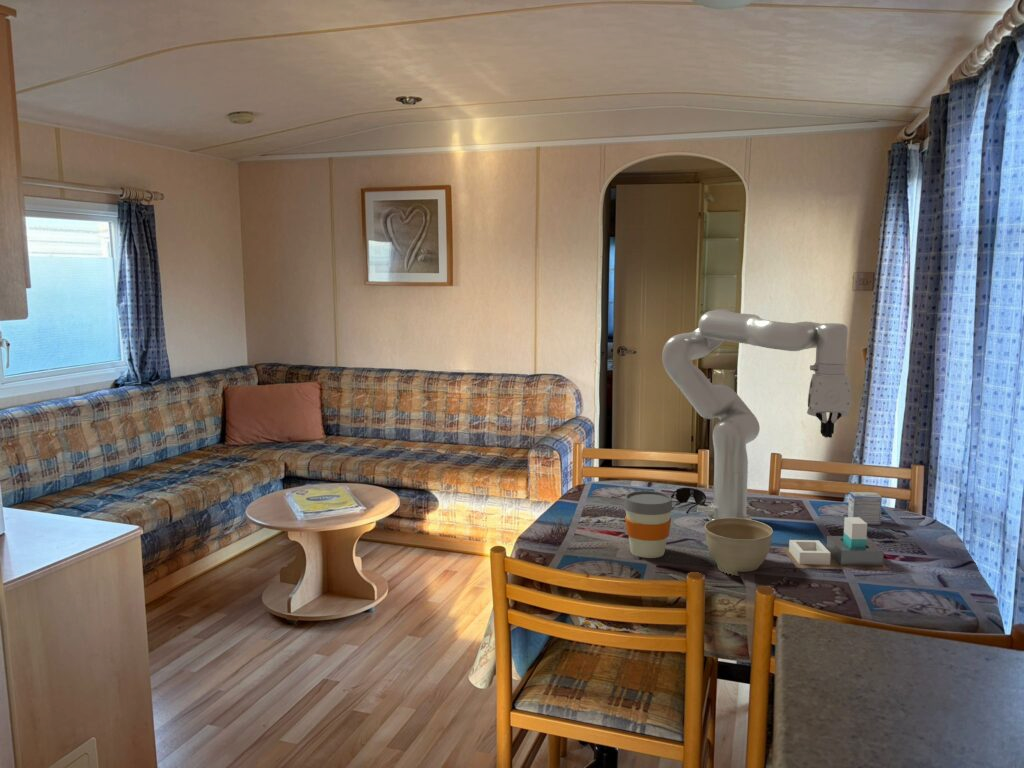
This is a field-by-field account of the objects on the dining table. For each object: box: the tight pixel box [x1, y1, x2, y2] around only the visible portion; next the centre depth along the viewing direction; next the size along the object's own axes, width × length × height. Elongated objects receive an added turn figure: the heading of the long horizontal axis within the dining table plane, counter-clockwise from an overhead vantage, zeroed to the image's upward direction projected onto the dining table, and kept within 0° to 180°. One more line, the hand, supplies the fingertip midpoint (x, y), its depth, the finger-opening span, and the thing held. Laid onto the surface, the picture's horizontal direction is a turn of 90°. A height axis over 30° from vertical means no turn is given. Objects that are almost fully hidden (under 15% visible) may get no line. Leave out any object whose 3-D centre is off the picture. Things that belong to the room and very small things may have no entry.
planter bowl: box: [704, 518, 774, 577], centre depth 184 cm, size 16×16×11 cm
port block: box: [825, 535, 885, 567], centre depth 187 cm, size 10×10×4 cm
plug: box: [843, 516, 868, 548], centre depth 187 cm, size 4×5×10 cm
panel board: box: [781, 546, 891, 571], centre depth 188 cm, size 22×14×2 cm, turn 85°
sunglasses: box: [670, 487, 707, 514], centre depth 235 cm, size 10×12×5 cm
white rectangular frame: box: [788, 539, 831, 565], centre depth 188 cm, size 7×9×3 cm
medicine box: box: [847, 491, 883, 525], centre depth 218 cm, size 8×4×9 cm, turn 84°
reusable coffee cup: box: [623, 490, 673, 559], centre depth 196 cm, size 13×13×15 cm
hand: (826, 436), depth 201 cm, fingers closed
